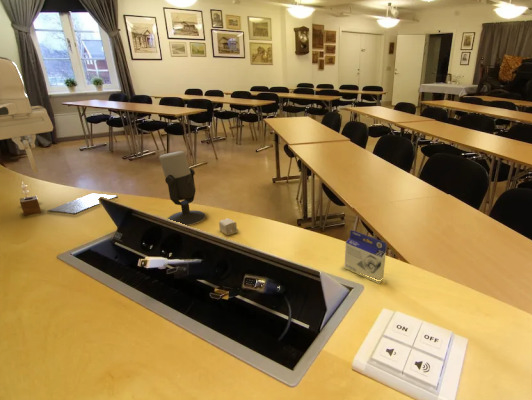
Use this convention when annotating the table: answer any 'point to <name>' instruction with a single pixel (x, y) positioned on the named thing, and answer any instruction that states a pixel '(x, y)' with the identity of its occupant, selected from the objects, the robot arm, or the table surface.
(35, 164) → the stylus
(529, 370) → the table surface
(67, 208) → the tablet
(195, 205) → the table surface
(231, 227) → the usb wall charger
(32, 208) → the holder
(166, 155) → the microphone
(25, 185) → the chess piece
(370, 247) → the ink box
